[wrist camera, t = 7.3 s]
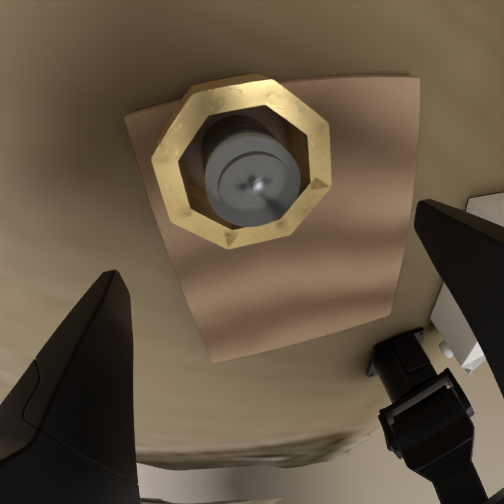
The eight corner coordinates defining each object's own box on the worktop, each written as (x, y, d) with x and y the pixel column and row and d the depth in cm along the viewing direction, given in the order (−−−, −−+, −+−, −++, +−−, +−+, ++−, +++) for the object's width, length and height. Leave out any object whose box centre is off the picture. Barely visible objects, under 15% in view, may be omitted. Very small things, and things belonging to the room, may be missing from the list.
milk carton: (563, 230, 16) (489, 363, 28) (512, 188, 22) (461, 322, 34) (526, 246, 16) (446, 386, 27) (468, 196, 21) (419, 339, 33)
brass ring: (311, 198, 18) (331, 225, 16) (182, 226, 17) (183, 260, 15) (300, 67, 13) (325, 73, 11) (146, 96, 13) (136, 108, 11)
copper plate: (384, 307, 27) (389, 315, 27) (211, 353, 26) (213, 363, 26) (410, 75, 15) (420, 77, 14) (127, 113, 14) (123, 117, 13)
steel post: (275, 174, 17) (307, 222, 13) (208, 188, 16) (218, 242, 12) (267, 109, 14) (301, 137, 10) (194, 123, 14) (197, 157, 10)
